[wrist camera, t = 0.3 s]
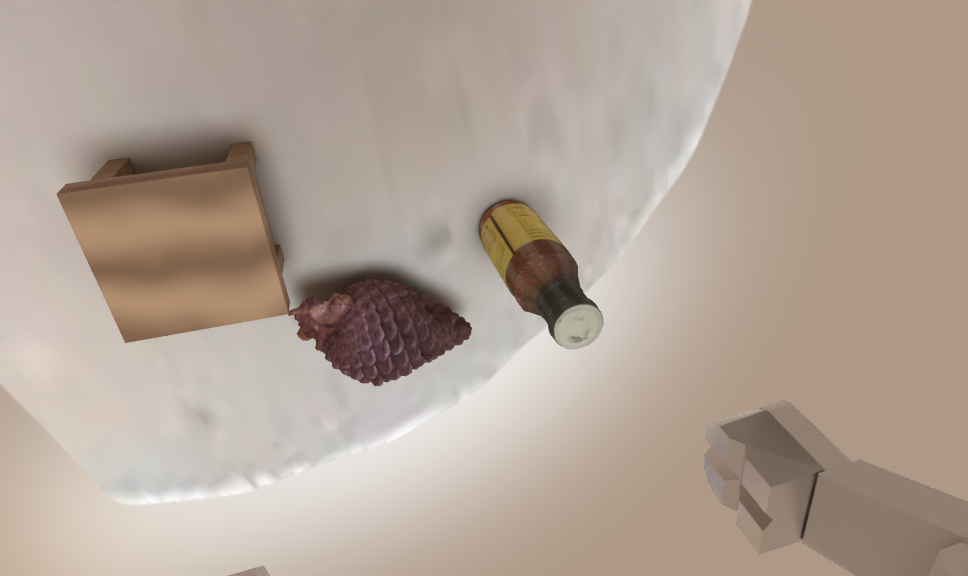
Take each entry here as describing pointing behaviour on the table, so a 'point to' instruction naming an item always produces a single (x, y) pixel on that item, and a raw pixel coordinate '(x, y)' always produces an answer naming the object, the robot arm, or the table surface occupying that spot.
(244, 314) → the light brown wooden stool
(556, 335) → the sauce bottle
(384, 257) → the table surface
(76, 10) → the table surface
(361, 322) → the pine cone
